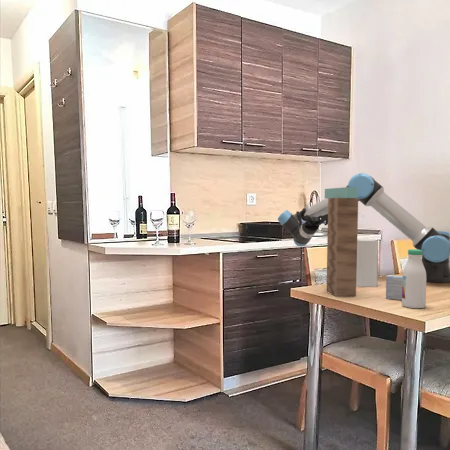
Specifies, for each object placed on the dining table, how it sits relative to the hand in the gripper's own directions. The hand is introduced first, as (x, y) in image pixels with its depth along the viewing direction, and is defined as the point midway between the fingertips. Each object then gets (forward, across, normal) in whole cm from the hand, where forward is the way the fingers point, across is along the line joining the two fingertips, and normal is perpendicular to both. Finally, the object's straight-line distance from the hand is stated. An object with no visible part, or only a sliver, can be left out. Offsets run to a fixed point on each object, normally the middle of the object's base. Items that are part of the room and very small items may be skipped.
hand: (323, 205), depth 190 cm
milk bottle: (+19, -17, -52) cm, 58 cm away
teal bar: (+16, 0, -6) cm, 17 cm away
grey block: (-16, -18, -31) cm, 39 cm away
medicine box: (+9, -18, -46) cm, 50 cm away
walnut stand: (0, 0, -40) cm, 40 cm away
